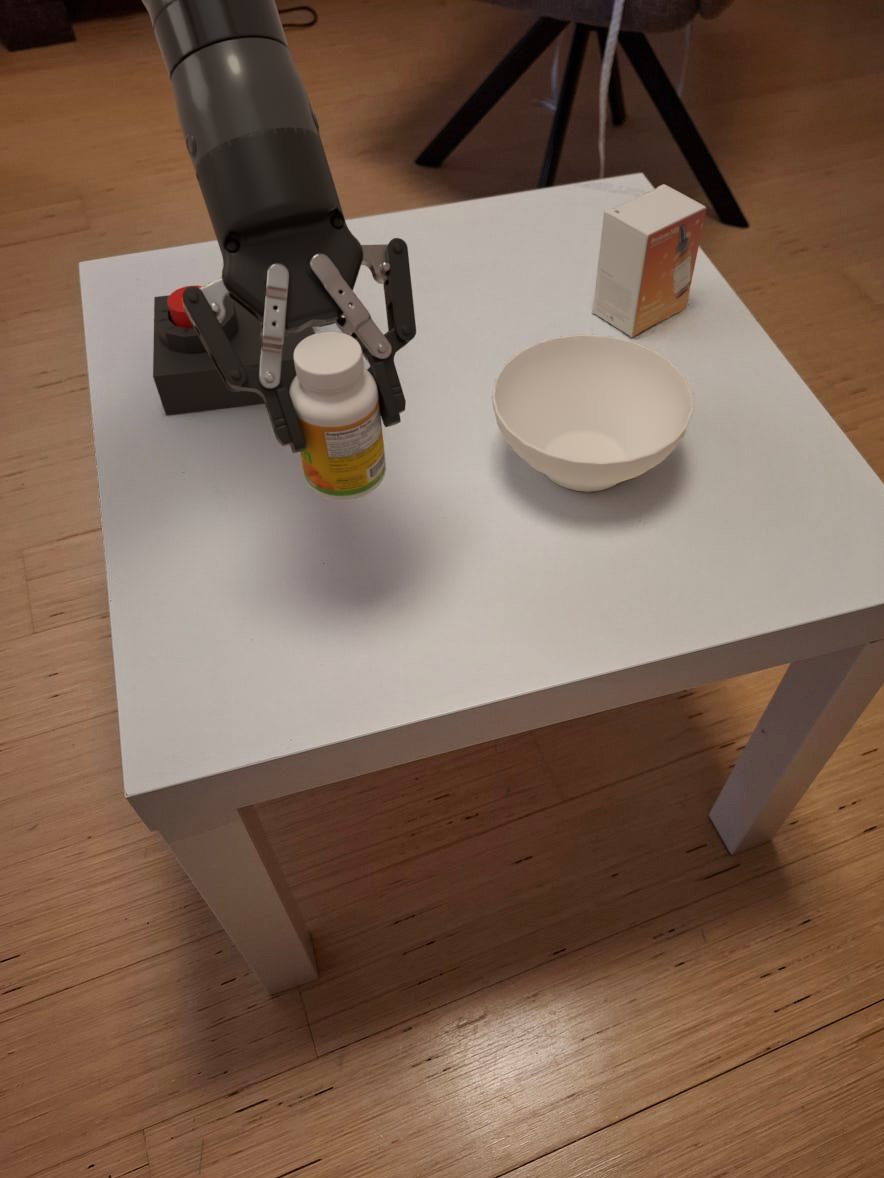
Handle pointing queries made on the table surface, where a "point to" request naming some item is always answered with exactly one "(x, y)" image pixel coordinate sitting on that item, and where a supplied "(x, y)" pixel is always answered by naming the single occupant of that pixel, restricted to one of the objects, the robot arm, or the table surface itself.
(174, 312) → the power button
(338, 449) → the supplement bottle
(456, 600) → the table surface
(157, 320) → the red push button box
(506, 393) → the bowl
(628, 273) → the small box
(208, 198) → the robot arm
